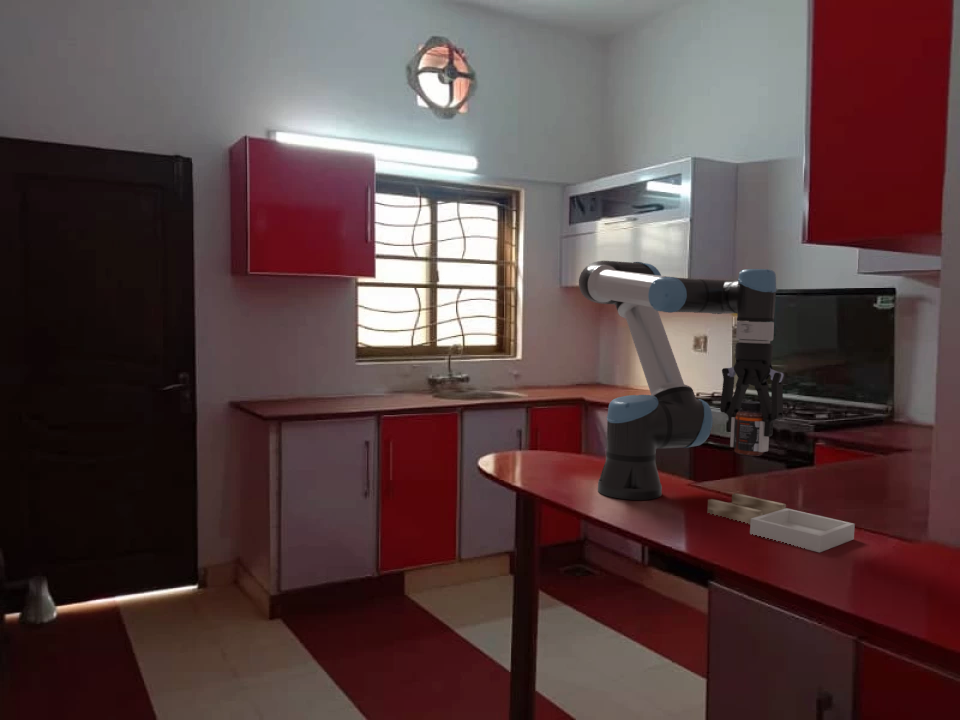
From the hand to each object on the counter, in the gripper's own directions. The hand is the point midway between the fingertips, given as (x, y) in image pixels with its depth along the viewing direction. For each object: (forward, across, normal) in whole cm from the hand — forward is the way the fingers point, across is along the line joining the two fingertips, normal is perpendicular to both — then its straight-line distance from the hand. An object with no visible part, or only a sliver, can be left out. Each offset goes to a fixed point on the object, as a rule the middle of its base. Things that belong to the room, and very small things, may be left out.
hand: (748, 448), depth 160 cm
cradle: (+15, 0, 0) cm, 15 cm away
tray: (+15, +15, -5) cm, 22 cm away
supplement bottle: (+1, 0, 0) cm, 1 cm away
